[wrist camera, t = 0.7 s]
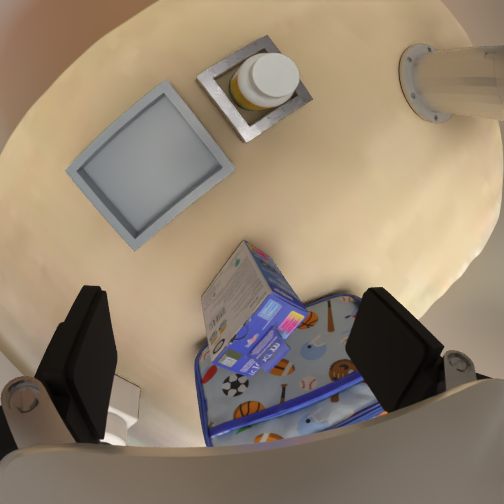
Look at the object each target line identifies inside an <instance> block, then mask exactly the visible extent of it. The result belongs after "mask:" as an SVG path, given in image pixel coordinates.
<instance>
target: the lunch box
mask: <svg viewBox="0 0 504 504" xmlns="http://www.w3.org/2000/svg"><path fill="white" fill-rule="evenodd" d="M361 300H362V299H361V298H360V297H358V296H355V295H351V294H337V295H333V296H329V297H326V298H322V299H320V300H318V301H316V302H313V303H311V304H308V305H305V308H306V309H307V310H308V312H309V315H308V316H307V317H306V318H305V319H304V320H303V322H302V323H301V324H300V325H299V326H298V327H297V328H296V329H295V331H294V332H293V333H292V334H291V335H290V336H289V337H288V338H287V340H286V341H285V342H286V343H287V344H288V346H289V347H290V348H291V350H290V351H289V352H288V353H287V354H286V355H285V356H284V357H283V358H282V359H281V360H280V361H279V362H278V363H277V364H276V365H275V366H274V367H273V368H272V369H271V370H270V371H269V372H268V373H266V372H265V371H264V370H263V369H262V368H260V369H259V370H258V371H257V372H256V373H255V374H254V375H253V376H252V377H247V376H244V375H241V374H238V373H236V372H233V371H230V370H227V369H224V368H222V367H219V366H216V365H214V364H213V363H211V357H210V351H209V345H208V343H207V344H206V345H204V346H203V347H202V349H201V350H200V351H199V353H198V354H197V356H196V359H195V364H194V366H195V381H196V390H197V398H198V405H199V412H200V419H201V425H202V430H203V435H204V439H205V443H206V446H207V447H216V446H230V445H242V444H251V443H260V442H267V441H274V440H281V439H287V438H293V437H298V436H304V435H309V434H314V433H318V432H323V431H327V430H332V429H336V428H340V427H344V426H347V425H351V424H355V423H358V422H362V421H365V420H369V419H372V418H375V417H378V416H382V415H385V414H388V412H386V411H384V410H383V408H382V407H381V405H380V403H379V402H378V400H377V399H376V397H375V396H374V394H373V393H372V391H371V390H370V388H369V387H368V385H367V384H366V382H365V381H364V379H363V377H362V376H361V374H360V373H359V371H358V370H357V368H356V367H355V365H354V364H353V362H352V361H351V359H350V358H349V356H348V355H347V353H346V350H345V345H346V342H347V339H348V337H349V334H350V331H351V329H352V326H353V323H354V320H355V317H356V315H357V312H358V309H359V306H360V303H361ZM278 349H279V348H278ZM278 349H277V351H278ZM277 351H276V352H275V353H274V354H273V355H272V356H271V357H270V358H269V359H268V360H270V359H271V358H273V357H274V356H275V354H276V353H277ZM268 360H267V361H268Z"/></svg>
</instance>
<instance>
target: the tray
mask: <svg viewBox="0 0 504 504" xmlns="http://www.w3.org/2000/svg"><path fill="white" fill-rule="evenodd" d="M235 170H236V168H235V167H234V166H233V164H232V163H231V162H230V160H229V159H228V158H227V156H226V155H225V154H224V152H223V151H222V150H221V148H220V147H219V146H218V144H217V143H216V142H215V141H214V139H213V138H212V137H211V135H210V134H209V133H208V131H207V130H206V129H205V128H204V126H203V125H202V124H201V122H200V121H199V120H198V119H197V117H196V116H195V115H194V113H193V112H192V111H191V110H190V108H189V107H188V106H187V105H186V103H185V102H184V101H183V100H182V98H181V97H180V96H179V95H178V93H177V92H176V91H175V90H174V88H173V87H172V86H171V85H170V83H169V82H168V81H167V80H165V81H163V82H162V83H161V84H159V85H158V86H157V87H155V88H154V89H153V90H151V91H150V92H149V93H148V94H146V95H145V96H144V97H143V98H141V99H140V100H139V101H138V102H136V103H135V104H134V105H133V106H132V107H130V108H129V109H128V110H127V111H126V112H125V113H123V114H122V115H121V116H120V117H119V118H118V119H117V120H115V121H114V122H113V123H112V124H111V125H110V126H109V127H108V128H107V129H106V130H104V131H103V132H102V133H101V134H100V135H99V136H98V137H97V138H96V139H95V140H94V141H93V142H92V143H91V144H90V145H89V146H88V147H87V148H86V149H85V150H84V151H83V152H82V153H81V154H80V155H79V156H78V157H77V158H76V159H75V160H74V162H73V163H72V164H71V165H70V166H69V167H68V168H67V169H66V170H65V172H66V173H67V174H68V175H69V177H70V178H71V179H72V180H73V182H74V183H75V184H76V185H77V186H78V188H79V189H80V190H81V191H82V193H83V194H84V195H85V196H86V197H87V198H88V200H89V201H90V202H91V203H92V204H93V206H94V207H95V208H96V209H97V210H98V211H99V213H100V214H101V215H102V216H103V217H104V218H105V219H106V221H107V222H108V223H109V224H110V225H111V226H112V227H113V228H114V229H115V231H116V232H117V233H118V234H119V235H120V236H121V237H122V238H123V239H124V240H125V242H126V243H127V244H128V245H129V246H130V247H131V248H132V249H133V250H134V251H136V250H137V249H138V248H139V247H140V246H142V245H143V244H144V243H145V242H146V241H147V240H149V239H150V238H151V237H152V236H153V235H154V234H156V233H157V232H158V231H159V230H160V229H162V228H163V227H164V226H165V225H166V224H168V223H169V222H170V221H171V220H172V219H174V218H175V217H176V216H177V215H178V214H180V213H181V212H182V211H183V210H185V209H186V208H187V207H188V206H190V205H191V204H192V203H193V202H195V201H196V200H197V199H198V198H200V197H201V196H202V195H204V194H205V193H206V192H207V191H209V190H210V189H211V188H213V187H214V186H215V185H217V184H218V183H219V182H221V181H222V180H223V179H224V178H226V177H227V176H228V175H230V174H231V173H233V172H234V171H235Z"/></svg>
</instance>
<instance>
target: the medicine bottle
mask: <svg viewBox="0 0 504 504" xmlns="http://www.w3.org/2000/svg"><path fill="white" fill-rule="evenodd" d="M139 400H140V388H139V387H137V386H135V385H133V384H131V383H129V382H128V381H126V380H124V379H122V378H120V377H118V376H116V375H114V380H113V385H112V391H111V397H110V403H109V409H108V415H107V422H106V429H105V437H104V439H103V440H99V444H104V445H121V446H126V439H127V429H128V428H129V427H131V426H132V425H133V424H134V423H136V422H137V421H138V415H139Z"/></svg>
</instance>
